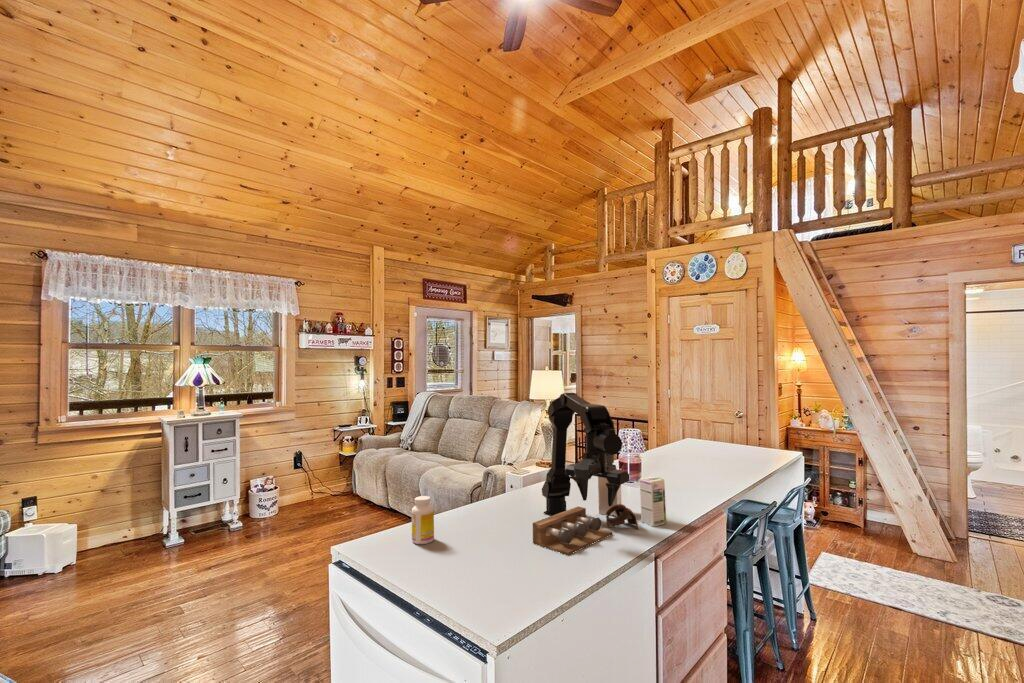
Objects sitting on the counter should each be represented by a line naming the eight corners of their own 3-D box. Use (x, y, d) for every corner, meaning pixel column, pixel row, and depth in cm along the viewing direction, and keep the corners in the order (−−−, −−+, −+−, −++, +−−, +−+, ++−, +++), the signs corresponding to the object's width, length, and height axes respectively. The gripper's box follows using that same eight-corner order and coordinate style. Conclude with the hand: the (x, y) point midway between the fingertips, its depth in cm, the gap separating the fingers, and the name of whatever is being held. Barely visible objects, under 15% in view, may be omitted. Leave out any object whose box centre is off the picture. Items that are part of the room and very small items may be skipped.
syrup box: (653, 527, 152) (652, 481, 153) (640, 522, 157) (639, 477, 158) (666, 524, 154) (665, 479, 155) (653, 519, 160) (652, 475, 160)
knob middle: (559, 532, 144) (558, 519, 145) (567, 528, 147) (566, 516, 147) (579, 538, 139) (579, 525, 139) (587, 535, 142) (587, 522, 142)
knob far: (573, 526, 149) (573, 513, 150) (580, 523, 152) (580, 511, 152) (594, 532, 144) (593, 519, 144) (601, 529, 146) (600, 516, 147)
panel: (533, 543, 140) (532, 522, 140) (578, 524, 155) (578, 506, 156) (567, 555, 131) (567, 533, 131) (612, 534, 146) (611, 514, 146)
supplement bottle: (438, 538, 146) (437, 495, 146) (427, 546, 139) (426, 501, 140) (418, 535, 148) (418, 494, 148) (407, 543, 141) (407, 500, 142)
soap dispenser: (623, 509, 171) (621, 447, 172) (617, 516, 163) (615, 452, 164) (605, 507, 174) (603, 446, 175) (599, 514, 166) (597, 450, 167)
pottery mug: (643, 534, 147) (631, 513, 146) (615, 546, 149) (603, 525, 148) (635, 512, 159) (624, 492, 158) (610, 524, 161) (599, 504, 159)
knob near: (543, 538, 140) (543, 524, 140) (552, 534, 142) (552, 521, 142) (564, 545, 134) (564, 531, 134) (573, 541, 137) (572, 527, 137)
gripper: (553, 449, 139) (554, 503, 138) (608, 456, 126) (609, 516, 126) (576, 444, 147) (577, 495, 146) (629, 451, 134) (631, 506, 134)
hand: (597, 503), depth 138 cm, fingers open, 8 cm apart
